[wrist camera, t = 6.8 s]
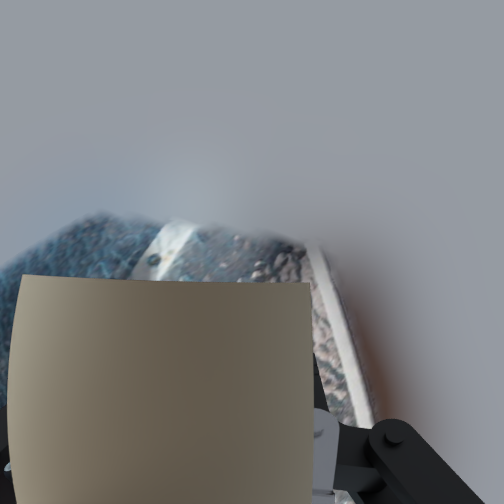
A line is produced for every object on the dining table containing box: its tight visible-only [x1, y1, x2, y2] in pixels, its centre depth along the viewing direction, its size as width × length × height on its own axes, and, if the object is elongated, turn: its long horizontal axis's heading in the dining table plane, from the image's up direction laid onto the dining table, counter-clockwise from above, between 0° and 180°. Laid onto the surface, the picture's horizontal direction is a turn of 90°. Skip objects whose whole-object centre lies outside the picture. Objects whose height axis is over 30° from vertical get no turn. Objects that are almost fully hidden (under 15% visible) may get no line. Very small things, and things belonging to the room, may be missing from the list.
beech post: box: [7, 274, 314, 504], centre depth 9 cm, size 4×4×14 cm
